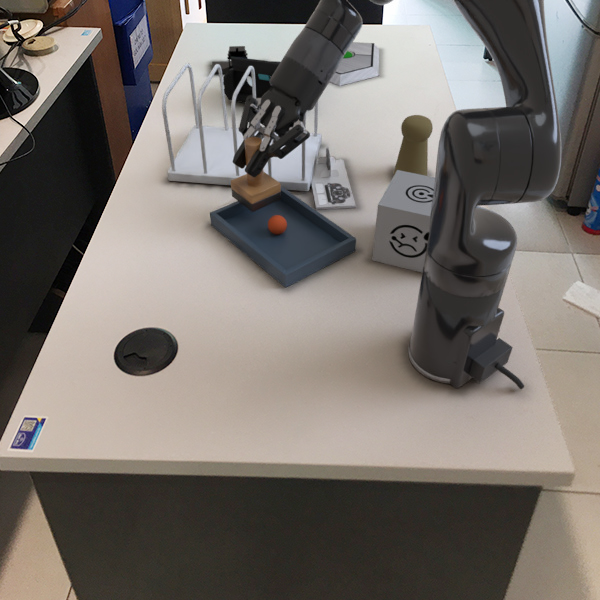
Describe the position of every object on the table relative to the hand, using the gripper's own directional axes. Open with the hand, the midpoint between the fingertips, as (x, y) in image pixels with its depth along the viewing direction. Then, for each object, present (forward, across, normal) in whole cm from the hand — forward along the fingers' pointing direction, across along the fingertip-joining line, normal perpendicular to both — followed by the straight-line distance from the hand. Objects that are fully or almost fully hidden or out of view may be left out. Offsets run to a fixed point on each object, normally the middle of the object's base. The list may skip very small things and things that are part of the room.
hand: (243, 169), depth 95 cm
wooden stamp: (+3, 0, +6) cm, 6 cm away
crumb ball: (+4, +5, +7) cm, 10 cm away
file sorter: (-1, -15, +15) cm, 21 cm away
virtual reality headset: (-16, -35, +31) cm, 49 cm away
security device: (-31, -38, +46) cm, 67 cm away
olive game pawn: (-15, +6, +29) cm, 33 cm away
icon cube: (-4, +22, +18) cm, 29 cm away
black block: (-17, -52, +32) cm, 63 cm away
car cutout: (-6, 0, +20) cm, 21 cm away
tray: (+6, +6, +8) cm, 12 cm away
